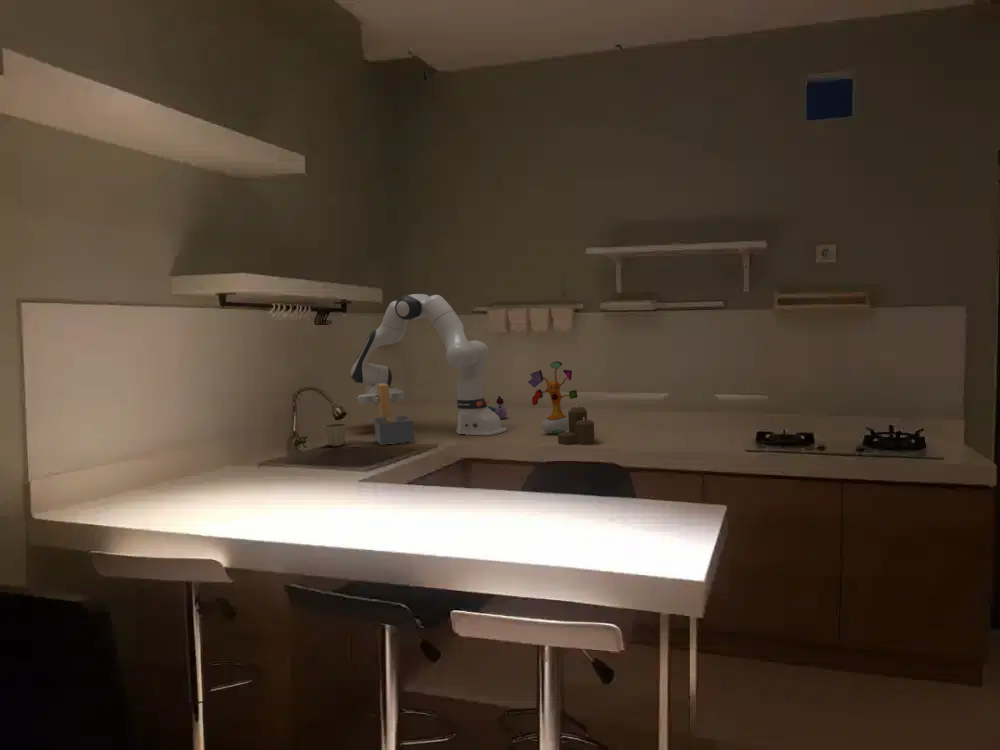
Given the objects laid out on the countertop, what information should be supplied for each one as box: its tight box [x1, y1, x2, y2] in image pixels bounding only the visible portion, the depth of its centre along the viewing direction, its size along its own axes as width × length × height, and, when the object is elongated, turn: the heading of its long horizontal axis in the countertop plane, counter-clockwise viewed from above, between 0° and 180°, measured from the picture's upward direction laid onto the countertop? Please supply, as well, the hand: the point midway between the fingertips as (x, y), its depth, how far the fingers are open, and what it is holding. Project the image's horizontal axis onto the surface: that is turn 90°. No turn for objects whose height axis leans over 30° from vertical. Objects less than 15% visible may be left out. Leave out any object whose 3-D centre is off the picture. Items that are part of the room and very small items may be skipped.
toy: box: [487, 395, 508, 420], centre depth 394 cm, size 10×15×15 cm
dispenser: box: [373, 414, 415, 444], centre depth 349 cm, size 12×14×10 cm
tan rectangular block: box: [376, 383, 392, 419], centre depth 367 cm, size 10×4×14 cm, turn 18°
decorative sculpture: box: [527, 360, 578, 435], centre depth 347 cm, size 20×8×30 cm, turn 76°
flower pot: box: [323, 422, 347, 445], centre depth 348 cm, size 9×9×9 cm
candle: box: [557, 402, 595, 446], centre depth 329 cm, size 14×14×15 cm
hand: (384, 399), depth 367 cm, fingers closed on tan rectangular block, 3 cm apart
